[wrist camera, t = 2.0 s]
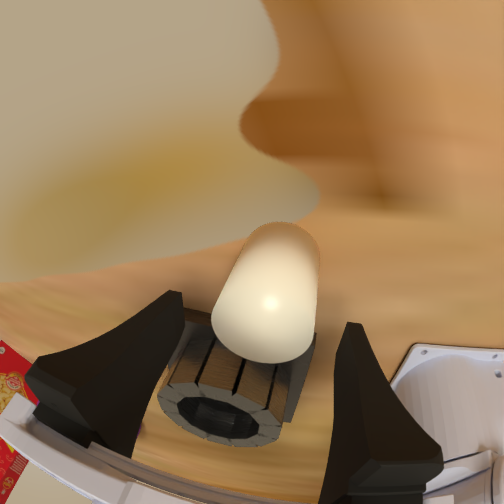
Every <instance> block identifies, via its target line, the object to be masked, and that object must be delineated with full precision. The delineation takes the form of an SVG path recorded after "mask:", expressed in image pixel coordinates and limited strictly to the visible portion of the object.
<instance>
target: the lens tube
mask: <svg viewBox="0 0 504 504" xmlns="http://www.w3.org/2000/svg"><path fill="white" fill-rule="evenodd" d="M183 309H184V317H185V325H186V326H185V328H184V331H183V334H182V336H181V339H180V341H179V344H178V346H177V348H176V349H175V351H174V353H173V355H172V357H171V359H170V360H169V362H168V367H169V372H168V374H167V376H166V378H165V380H164V382H163V384H162V386H161V388H160V390H159V392H158V394H157V398H158V401H159V404H160V406H161V409H162V410H164V413H165V414H166V415H167V416H168V417H169V418H171V419H172V420H173V421H174V422H175V423H176V424H177V425H178V426H182V428H183V429H185V430H187V431H189V432H191V433H193V434H195V435H197V436H199V437H201V438H203V439H204V438H207V440H209V441H212V442H216V443H220V444H224V445H228V446H232V445H234V446H235V447H258V446H263V445H266V444H269V443H271V442H274V441H276V440H277V439H278V438H279V435H280V431H281V428H282V424H283V422H289V423H291V421H292V418H293V415H294V412H295V409H296V406H297V403H298V400H299V397H300V394H301V391H302V388H303V384H304V381H305V378H306V375H307V372H308V368H309V365H310V362H311V358H312V355H313V352H314V348H315V342H316V333H314V335H313V340H312V342H311V344H310V346H309V348H308V349H307V350H306V351H305V352H304V353H303V354H302V355H300V356H299V357H297V358H295V359H293V360H290V361H287V362H282V363H261V362H255V361H251V360H248V359H246V358H243V357H241V356H239V355H237V354H235V353H234V352H232V351H231V350H229V349H228V348H227V347H226V346H225V345H224V344H222V342H221V341H220V340H219V339H218V337H217V336H216V334H215V332H214V330H213V327H212V322H211V315H212V314H210V313H205V312H200V311H196V310H191V309H187V308H183Z"/></svg>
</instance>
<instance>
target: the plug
mask: <svg viewBox="0 0 504 504" xmlns="http://www.w3.org/2000/svg"><path fill="white" fill-rule="evenodd" d="M319 267H320V252H319V248H318V245H317V243H316V242H315V240H314V239H313V237H312V236H311V235H310V234H309V233H308V232H307V231H305V230H304V229H302V228H301V227H299V226H297V225H294V224H291V223H287V222H272V223H267V224H265V225H262V226H260V227H258V228H257V229H256V230H254V231H253V232H252V233H251V234H250V236H249V237H248V239H247V241H246V243H245V245H244V247H243V249H242V251H241V253H240V255H239V257H238V259H237V261H236V263H235V265H234V267H233V269H232V271H231V273H230V275H229V278H228V280H227V282H226V284H225V286H224V288H223V290H222V292H221V294H220V296H219V298H218V300H217V302H216V304H215V306H214V308H213V311H212V315H211V322H212V327H213V330H214V332H215V334H216V336H217V337H218V339H219V340H220V341H221V342H222V344H224V345H225V346H226V347H227V348H228V349H229V350H231V351H232V352H234V353H235V354H237V355H239V356H241V357H243V358H246V359H248V360H251V361H255V362H261V363H282V362H287V361H290V360H293V359H295V358H297V357H299V356H300V355H302V354H303V353H304V352H305V351H306V350H307V349H308V348H309V346H310V344H311V342H312V340H313V335H314V326H315V315H316V304H317V293H318V280H319Z"/></svg>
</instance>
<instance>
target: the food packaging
mask: <svg viewBox="0 0 504 504" xmlns="http://www.w3.org/2000/svg"><path fill="white" fill-rule="evenodd" d="M32 365H33V364H31V363H30V362H28V361H27V360H26V359H25V358H23V357H22V356H21V355H19V354H18V353H17V352H16V351H14V350H13V349H12V348H11V347H9V346H8V345H7V344H6V343H4V342H3V341H2V340H1V341H0V415H1V413H2V412H3V410H4V409H5V407H6V406H7V405H8V403H9V402H10V400H11V399H12V398H13V396H14V395H15V393H16V392H18V393H20V394H21V395H23V396H24V397H26V398H27V399H29V400H30V401H32V402H33V403H34V404H35V405H36V406H37V402H38V399H37V397H36V396H35V395H34V393H33V392H32V391H31V389H30V388H29V387H28V385H27V384H26V382H25V379H24V375H25V374H26V372H27V371H28V370H29V368H30V367H31V366H32ZM28 461H29V460H28V459H26V458H25V457H24V456H22V455H21V454H20V453H19V452H17V451H16V450H15V449H14V448H13V447H11V446H10V445H9V444H8V443H7V442H6V441H5V440H3V439H2V438H1V437H0V504H5V502H6V501H7V499H8V497H9V495H10V493H11V491H12V490H13V488H14V486H15V484H16V482H17V481H18V479H19V477H20V475H21V474H22V472H23V470H24V468H25V466H26V465H27V463H28Z"/></svg>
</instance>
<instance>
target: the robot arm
mask: <svg viewBox="0 0 504 504" xmlns="http://www.w3.org/2000/svg"><path fill="white" fill-rule="evenodd" d="M185 326H186V325H185V317H184V309H183V300H182V293H181V292H177V291H172V290H169V291H167V292H166V293H164V294H163V295H162V296H160V297H159V298H158V299H156V300H155V301H154V302H152V303H151V304H149V305H148V306H147V307H145V308H144V309H143V310H141V311H140V312H138V313H137V314H136V315H134V316H133V317H131V318H130V319H128V320H127V321H125V322H124V323H122V324H121V325H119V326H117V327H116V328H114V329H112V330H110V331H109V332H107V333H105V334H103V335H101V336H99V337H97V338H95V339H92V340H90V341H88V342H86V343H83V344H81V345H78V346H76V347H73V348H70V349H67V350H64V351H60V352H57V353H53V354H48V355H44V356H39V357H38V358H37V360H36V361H35V362H34V363H33V365H32V366H31V367H30V368H29V370H28V371H27V372H26V374H25V375H24V379H25V382H26V384H27V385H28V387H29V388H30V389H31V391H32V392H33V393H34V395H35V396H36V397H37V399H38V400H39V401H40V403H39V404H38V405H37V406H36V405H35V404H34V403H33V402H32V401H30V400H29V399H27V398H26V397H24V396H23V395H21V394H20V393H18V392H16V393H15V395H14V396H13V398H12V399H11V400H10V402H9V403H8V405H7V406H6V407H5V409H4V410H3V412H2V413H1V415H0V437H1V438H2V439H3V440H5V441H6V442H7V443H8V444H9V445H10V446H11V447H13V448H14V449H15V450H16V451H17V452H19V453H20V454H21V455H22V456H24V457H25V458H26V459H28V460H29V461H31V462H32V463H33V464H35V465H36V466H37V467H39V468H40V469H42V470H43V471H45V472H46V473H48V474H49V475H50V476H52V477H53V478H55V479H56V480H58V481H60V482H61V483H63V484H64V485H66V486H68V487H69V488H71V489H72V490H74V491H76V492H78V493H79V494H81V495H83V496H85V497H86V498H88V499H90V500H92V501H93V502H92V504H202V503H198V502H195V501H191V500H188V499H185V498H182V497H178V496H176V495H173V494H170V493H167V492H164V491H161V490H158V489H156V488H153V487H150V486H148V485H145V484H142V483H139V482H136V480H139V481H141V482H144V483H146V484H149V485H151V486H154V487H157V488H160V489H162V490H165V491H168V492H171V493H174V494H177V495H180V496H183V497H186V498H190V499H193V500H196V501H200V502H203V503H207V504H309V503H299V502H291V501H283V500H276V499H270V498H264V497H258V496H252V495H247V494H242V493H238V492H233V491H229V490H224V489H220V488H216V487H212V486H209V485H205V484H201V483H198V482H194V481H191V480H188V479H185V478H181V477H178V476H175V475H172V474H169V473H166V472H163V471H161V470H158V469H155V468H152V467H150V466H147V465H144V464H142V463H139V462H137V461H134V460H132V459H131V457H132V453H133V449H134V445H135V442H136V438H137V435H138V432H139V429H140V426H141V422H142V419H143V417H144V414H145V411H146V408H147V406H148V403H149V401H150V398H151V396H152V393H153V391H154V388H155V386H156V384H157V382H158V380H159V378H160V377H161V375H162V373H163V371H164V369H165V368H166V366H167V364H168V362H169V360H170V359H171V357H172V355H173V353H174V351H175V349H176V348H177V346H178V344H179V341H180V339H181V336H182V334H183V331H184V328H185ZM423 350H424V351H423ZM503 361H504V349H484V348H468V347H453V346H441V345H429V344H415V345H414V346H412V348H411V349H410V351H409V353H408V355H407V356H406V358H405V360H404V362H403V363H402V365H401V367H400V368H399V370H398V372H397V373H396V375H395V377H394V378H393V380H392V382H391V383H390V384H389V382H388V380H387V379H386V377H385V375H384V373H383V371H382V369H381V367H380V365H379V363H378V361H377V359H376V357H375V355H374V352H373V350H372V348H371V346H370V343H369V341H368V338H367V336H366V333H365V331H364V328H363V326H362V324H359V323H352V322H347V324H346V327H345V330H344V333H343V336H342V338H341V341H340V344H339V347H338V350H337V352H336V359H335V368H334V421H333V431H332V438H331V445H330V451H329V457H328V463H327V468H326V472H325V477H324V482H323V486H322V490H321V494H320V498H319V502H318V504H504V362H503ZM132 478H134V479H136V480H134V479H132Z"/></svg>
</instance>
